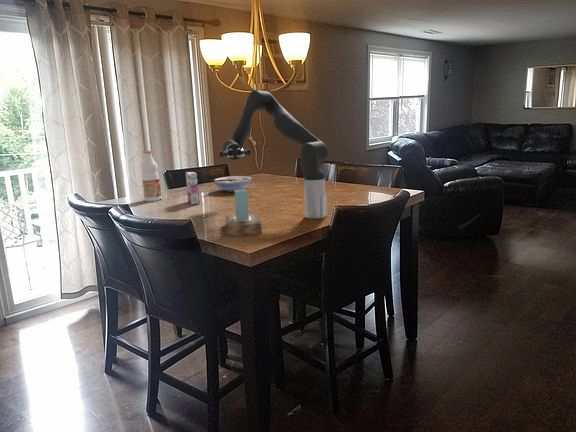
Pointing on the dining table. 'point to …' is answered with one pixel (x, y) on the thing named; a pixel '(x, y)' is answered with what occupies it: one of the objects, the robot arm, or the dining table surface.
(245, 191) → the column
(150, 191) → the fruit juice
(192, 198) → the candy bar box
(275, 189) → the dining table surface
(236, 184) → the ramen bowl
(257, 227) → the plinth
